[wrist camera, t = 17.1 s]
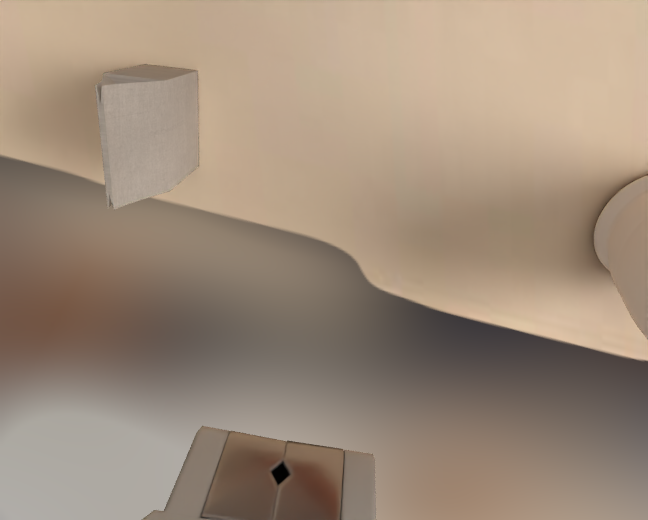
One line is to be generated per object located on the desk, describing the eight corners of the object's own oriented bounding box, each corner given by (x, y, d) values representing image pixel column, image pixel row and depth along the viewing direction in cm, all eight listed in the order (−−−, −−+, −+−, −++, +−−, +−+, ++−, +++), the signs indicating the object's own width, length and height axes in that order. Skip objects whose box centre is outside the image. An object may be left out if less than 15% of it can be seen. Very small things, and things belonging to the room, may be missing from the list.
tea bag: (197, 70, 34) (135, 90, 25) (198, 166, 37) (143, 214, 28) (145, 64, 34) (64, 81, 25) (150, 159, 37) (80, 205, 28)
